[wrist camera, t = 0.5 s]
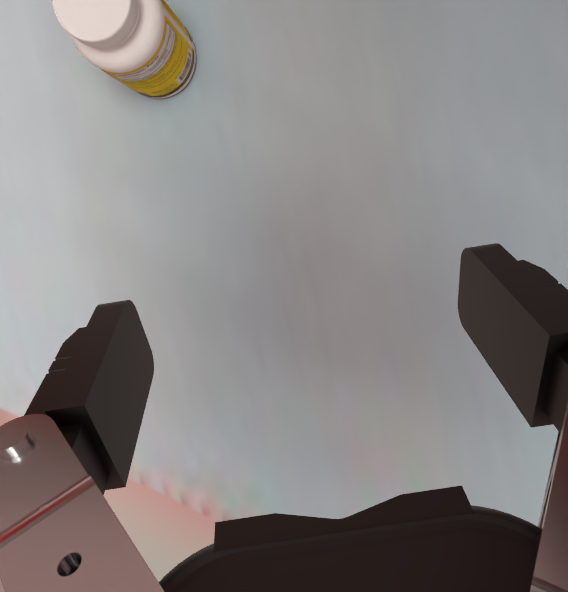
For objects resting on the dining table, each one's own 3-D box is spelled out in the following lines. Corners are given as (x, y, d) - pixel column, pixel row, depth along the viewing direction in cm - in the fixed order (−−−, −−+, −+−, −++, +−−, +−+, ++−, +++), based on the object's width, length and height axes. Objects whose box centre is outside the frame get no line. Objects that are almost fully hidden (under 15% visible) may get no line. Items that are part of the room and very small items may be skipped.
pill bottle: (114, 26, 37) (25, -52, 26) (189, 9, 36) (129, -79, 26) (131, 108, 38) (52, 65, 27) (204, 92, 37) (153, 42, 26)
